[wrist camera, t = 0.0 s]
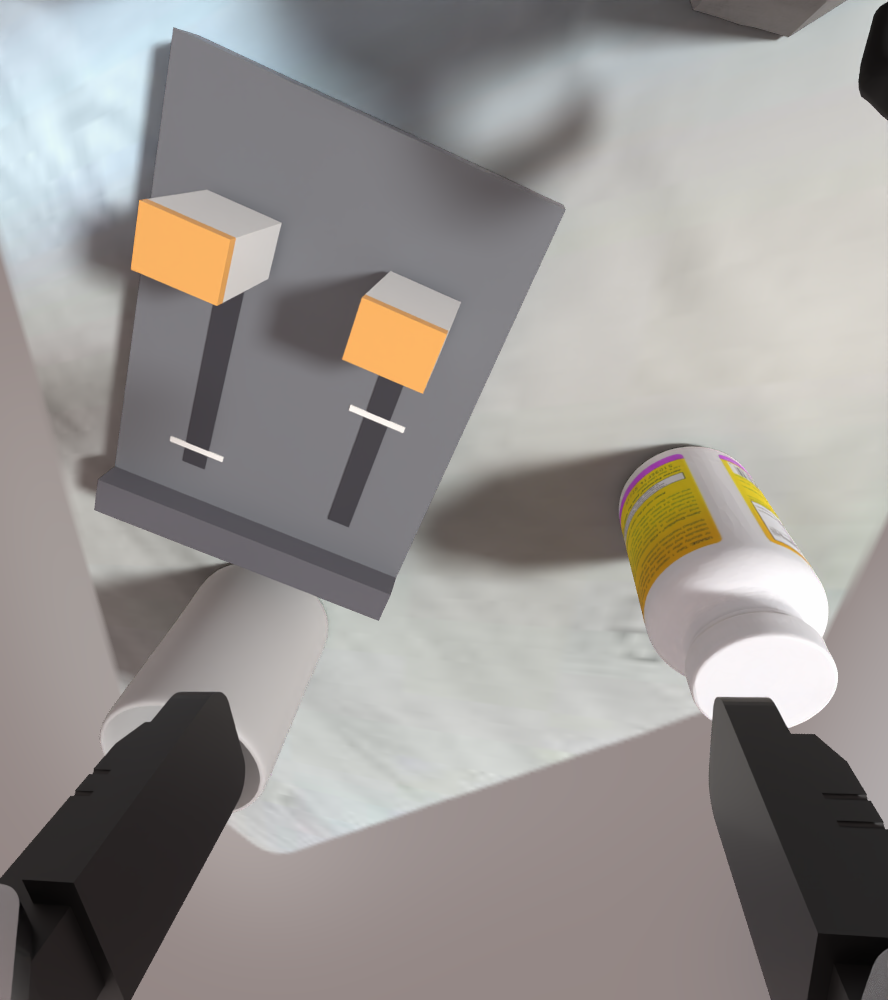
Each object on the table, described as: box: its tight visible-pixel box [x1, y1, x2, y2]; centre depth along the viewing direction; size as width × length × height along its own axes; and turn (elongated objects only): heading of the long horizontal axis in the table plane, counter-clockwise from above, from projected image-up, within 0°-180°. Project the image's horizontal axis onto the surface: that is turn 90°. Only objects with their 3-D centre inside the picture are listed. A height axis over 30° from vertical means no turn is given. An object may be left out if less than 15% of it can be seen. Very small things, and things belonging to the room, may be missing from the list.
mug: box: [100, 564, 328, 813], centre depth 36 cm, size 12×8×11 cm
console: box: [94, 27, 565, 621], centre depth 30 cm, size 22×16×4 cm
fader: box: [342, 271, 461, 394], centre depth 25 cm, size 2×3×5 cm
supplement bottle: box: [619, 446, 838, 728], centre depth 27 cm, size 7×7×13 cm
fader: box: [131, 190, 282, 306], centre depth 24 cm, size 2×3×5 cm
